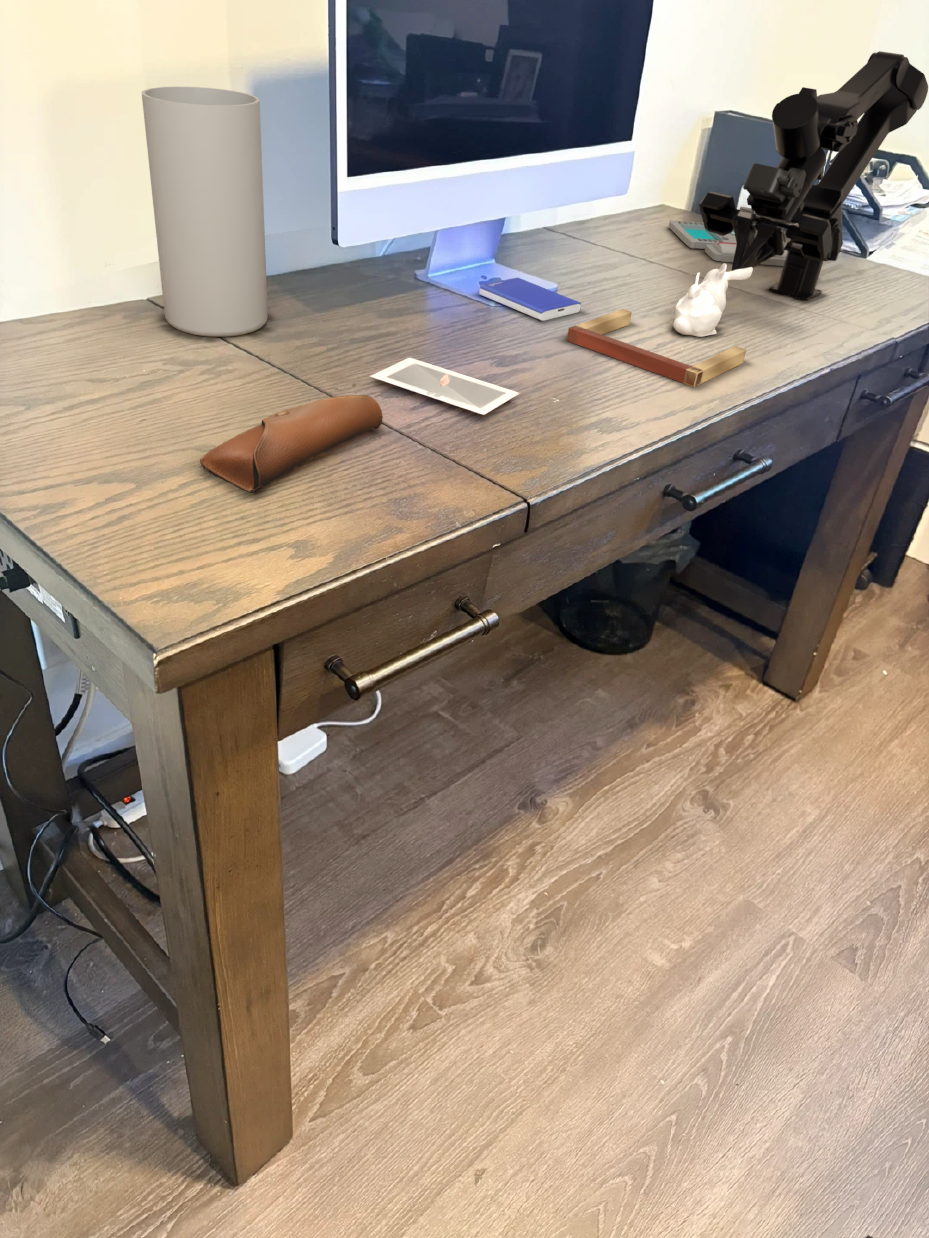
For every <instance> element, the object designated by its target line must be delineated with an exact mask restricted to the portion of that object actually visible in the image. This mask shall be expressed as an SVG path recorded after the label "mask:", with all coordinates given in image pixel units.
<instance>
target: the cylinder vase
mask: <svg viewBox="0 0 929 1238" xmlns="http://www.w3.org/2000/svg"><path fill="white" fill-rule="evenodd" d="M141 100H142V101H141V103H142V111H143V120H144V128H145V129H144V130H145V139H146V148H147V159H148V167H149V168H148V169H149V177H150V179H149V180H150V187H151V196H152V207H153V216H154V225H155V234H156V247H157V251H158V252H157V255H158V262H159V263H158V264H159V265H158V266H159V273H160V283H161V292H162V293H161V294H162V301H163V303H162V304H163V312H164V318H165V320H166V321H167V323H168V324H169V325H170V326H171V327H173V328H174V329H176V330H178V331H181V332H183V333H186V334H190V335H194V336H201V337H212V338H226V337H227V338H228V337H237V336H243V335H247V334H250V333H254V332H255V331H258V330H260V329H261V328H262V327H263V326H265V324H266V323H267V321H268V317H269V313H268V288H267V287H268V286H267V261H266V260H267V259H266V258H267V257H266V235H265V231H266V230H265V209H264V208H265V207H264V185H263V183H264V181H263V179H264V178H263V158H262V157H263V153H262V134H261V133H262V131H261V127H262V126H261V106H260V105H261V104H260V98H259V97H258V96H255V95H253V94H249V93H245V92H241V91H236V90H229V89H223V88H213V87H202V86H201V87H200V86H159V87H150V88H146V89H143V90H142V91H141Z"/></svg>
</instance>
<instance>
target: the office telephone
mask: <svg viewBox="0 0 929 1238" xmlns="http://www.w3.org/2000/svg"><path fill="white" fill-rule="evenodd" d="M668 228H669V229H670V230H671V231H672V232H673V233H674V234H675V236H677V237H678V238H679V239H680V240H681V241H682V242H683V243H684V244H685V245H686V246H687V247H688V248H690V249H701V250H703V249H704V252H705V254H707V255H708V257H709V258H711V259H712V260H713V261H716V262H724V263H725V262H726V263H733V260H734V255H735V250H736V245H737V242H736V238H735V233H734V229H733V231H732V232H731V233H729V234H727V235H720V234H716V233H712V232H709V231H707V230H706V229H705V227H704V223H703V222H697V221H683V220H673V219H672V220H669V223H668ZM756 235H757V234H755V237H756ZM787 252H788V251H787V250H784V254H783V255H782V256H779V255H775V256H773V257H772V258H770V259H768V260H766V261H764V262H762V263H760V264H759V265H765V266H778V267H779V266H781V267H783V266H784V262H785V259H786V255H787Z"/></svg>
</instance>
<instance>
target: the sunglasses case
mask: <svg viewBox="0 0 929 1238" xmlns="http://www.w3.org/2000/svg"><path fill="white" fill-rule="evenodd" d="M383 416H384V415H383V412H382V408H381V406H380V405H379V403H378V401H376V399H374V398H373V397H372V396H370V395H366V394H349V395H338V396H332V397H327V398H323V399H317V400H314V401H311V402H308V403H304V404H302V405H299V406H294V407H289V408H287V409H283V410H281V411H279V412H277V413H275V414H272V415H270V416H266V417H264V418H262V419H261V423H260V424H259V425H256V426H254V427H252V428H249V429H247V430H245V431H243V432H241V433H238V434H237V435H235V436H234V437H231V438H230V439H228V440H226V441H223V442H222V443H221V444H219V445H217V446H215V447H214V448H212V449H211V450H209V451H208V452H207V453H205V454H204V455H202V457H201V458H199V463H200V465H201V466H202V467H203V468H205V469H206V470H208V471H209V472H211V473H212V474H214V476H217V477H218V478H220V479H222V480H224V481H225V482H227V483H229V484H231V485H233V486H235V487H237V488H239V489H242V490H243V491H245V492H247V493H252V492H253V493H254V492H257V490H258V489H259V488H261V487H266V486H268V485H269V484H271V483H273V482H274V481H276V480H278V479H279V478H281V477H283V476H284V475H286V474H287V473H290V472H291V471H293V470H294V469H295V468H297V467H299V466H301V465H303V464H305V463H306V462H308V461H309V460H310V459H312V458H315V457H317V456H319V455H321V454H324V453H326V452H328V451H330V450H332V449H333V448H336V447H337V446H339V445H340V444H344V443H346V442H348V441H351V440H353V439H354V438H356V437H358V436H360V435H362V434H364V433H367V432H368V431H371V430H373V429H378V428H380V427H381V426H382V424H383V419H384V417H383Z"/></svg>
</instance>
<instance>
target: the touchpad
mask: <svg viewBox="0 0 929 1238" xmlns="http://www.w3.org/2000/svg"><path fill="white" fill-rule="evenodd" d="M369 377H370V378H373V379H376V380H379V381H382V382H385V383H388V384H391V385H394V386H396V387H400V388H403V389H406V390H408V391H411V392H415V393H417V394H420V395H424V396H426V397H429V398H432V399H435V400H438V401H441V402H444V403H447V404H450V405H453V406H455V407H459V408H462V409H464V410H467V411H471V412H473V413H476V414H479V415H483V416H485V415H486V414H488V413H490V412H491V411H493V410H494V409H496V408H498V407H500V406H502V405H503V404H504V403H506V402H508V401H510V400H511V399H512V398H515V397H516V396H518V395H520V392H518V391H515V390H513V389H509V388H505V387H503V386H500V385H497V384H493V383H490V382H488V381H485V380H481V379H477V378H476V377H475V378H474V377H471V376H469V375H465V374H462V373H459V372H456V371H453V370H449V369H447V368H443V367H441V366H439V365H438V366H437V365H434V364H431V363H428V362H425V361H422V360H419V359H416V358H412V357H407V358H406V359H403V360H401V361H399V362H397V363H395V364H393V365H390V366H389V367H386V368H384V369H381V370H380V371H378V372H375V373H374V374H371V375H369Z"/></svg>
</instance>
